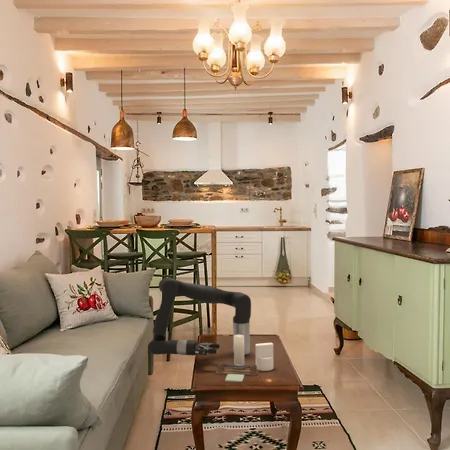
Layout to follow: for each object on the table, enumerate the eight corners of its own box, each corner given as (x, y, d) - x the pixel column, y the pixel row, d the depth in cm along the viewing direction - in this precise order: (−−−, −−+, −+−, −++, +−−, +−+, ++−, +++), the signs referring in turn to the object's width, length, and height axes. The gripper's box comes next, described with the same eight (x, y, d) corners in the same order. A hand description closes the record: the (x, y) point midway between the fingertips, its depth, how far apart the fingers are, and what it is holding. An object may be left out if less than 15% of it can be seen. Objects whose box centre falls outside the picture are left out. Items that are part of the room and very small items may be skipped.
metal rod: (218, 365, 226) (218, 363, 226) (254, 367, 224) (254, 365, 223) (218, 366, 225) (218, 364, 225) (254, 368, 222) (254, 365, 222)
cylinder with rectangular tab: (259, 371, 226) (258, 347, 226) (253, 365, 235) (252, 342, 234) (276, 369, 228) (276, 345, 228) (269, 364, 237) (269, 340, 237)
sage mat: (227, 375, 222) (227, 373, 222) (244, 375, 220) (244, 374, 220) (225, 381, 214) (225, 379, 214) (242, 382, 212) (242, 380, 212)
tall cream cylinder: (234, 365, 235) (234, 334, 235) (245, 365, 234) (244, 334, 234) (233, 368, 230) (233, 337, 230) (243, 369, 229) (243, 337, 229)
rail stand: (217, 370, 229) (217, 362, 228) (258, 372, 225) (257, 364, 225) (216, 373, 224) (215, 365, 223) (257, 375, 220) (256, 367, 220)
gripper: (183, 344, 229) (215, 345, 227) (190, 336, 243) (220, 337, 241) (183, 359, 230) (215, 360, 227) (190, 350, 244) (220, 351, 241)
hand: (217, 348), depth 234 cm, fingers open, 8 cm apart
